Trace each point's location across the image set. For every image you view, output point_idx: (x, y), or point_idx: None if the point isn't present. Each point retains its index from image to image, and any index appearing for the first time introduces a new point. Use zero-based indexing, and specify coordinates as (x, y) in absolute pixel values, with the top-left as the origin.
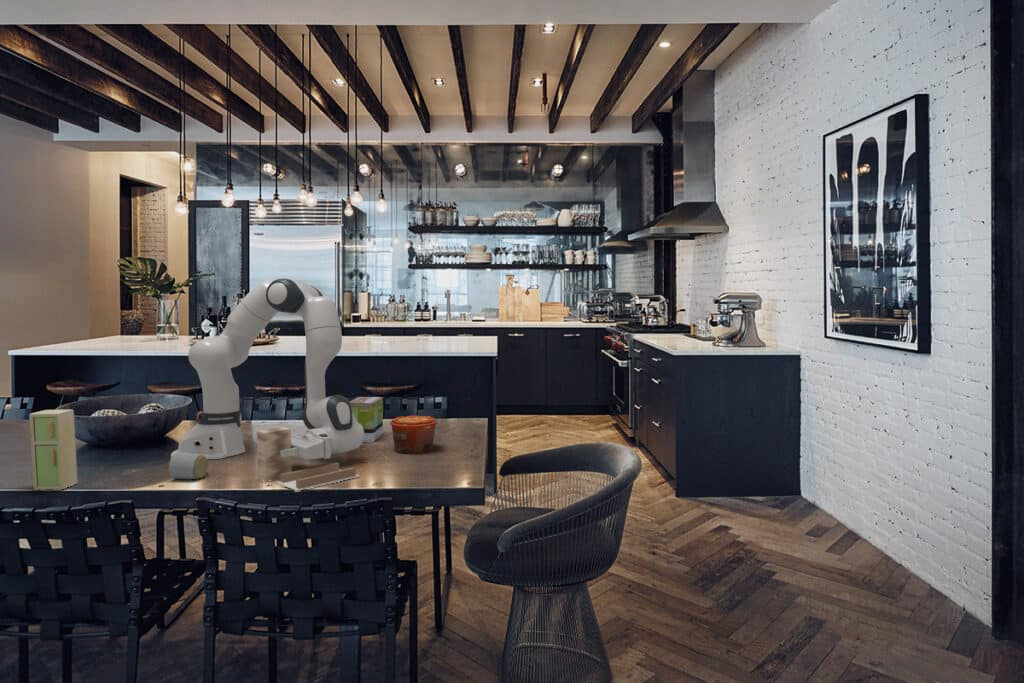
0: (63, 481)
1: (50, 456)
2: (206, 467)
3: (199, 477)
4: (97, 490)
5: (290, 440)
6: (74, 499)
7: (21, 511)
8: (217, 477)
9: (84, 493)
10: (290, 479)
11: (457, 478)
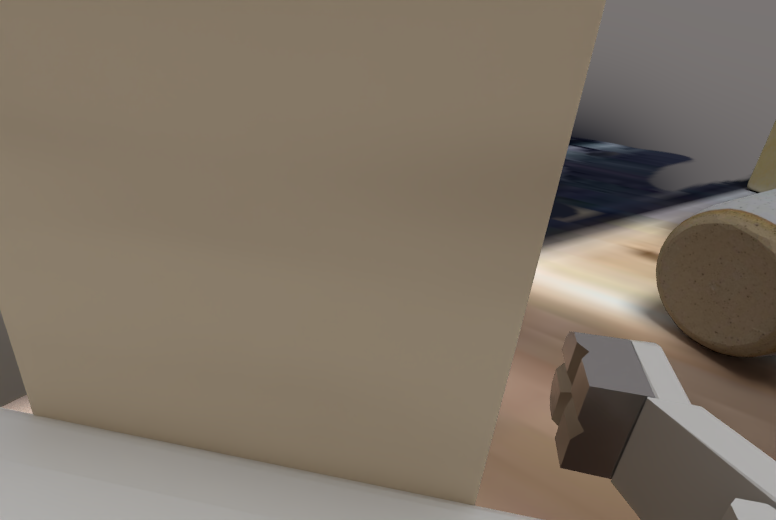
0: (762, 168)
1: None
2: (760, 324)
3: (673, 318)
4: (700, 203)
5: (23, 325)
6: (625, 173)
7: (586, 143)
8: (687, 394)
9: (680, 190)
10: None
11: None
